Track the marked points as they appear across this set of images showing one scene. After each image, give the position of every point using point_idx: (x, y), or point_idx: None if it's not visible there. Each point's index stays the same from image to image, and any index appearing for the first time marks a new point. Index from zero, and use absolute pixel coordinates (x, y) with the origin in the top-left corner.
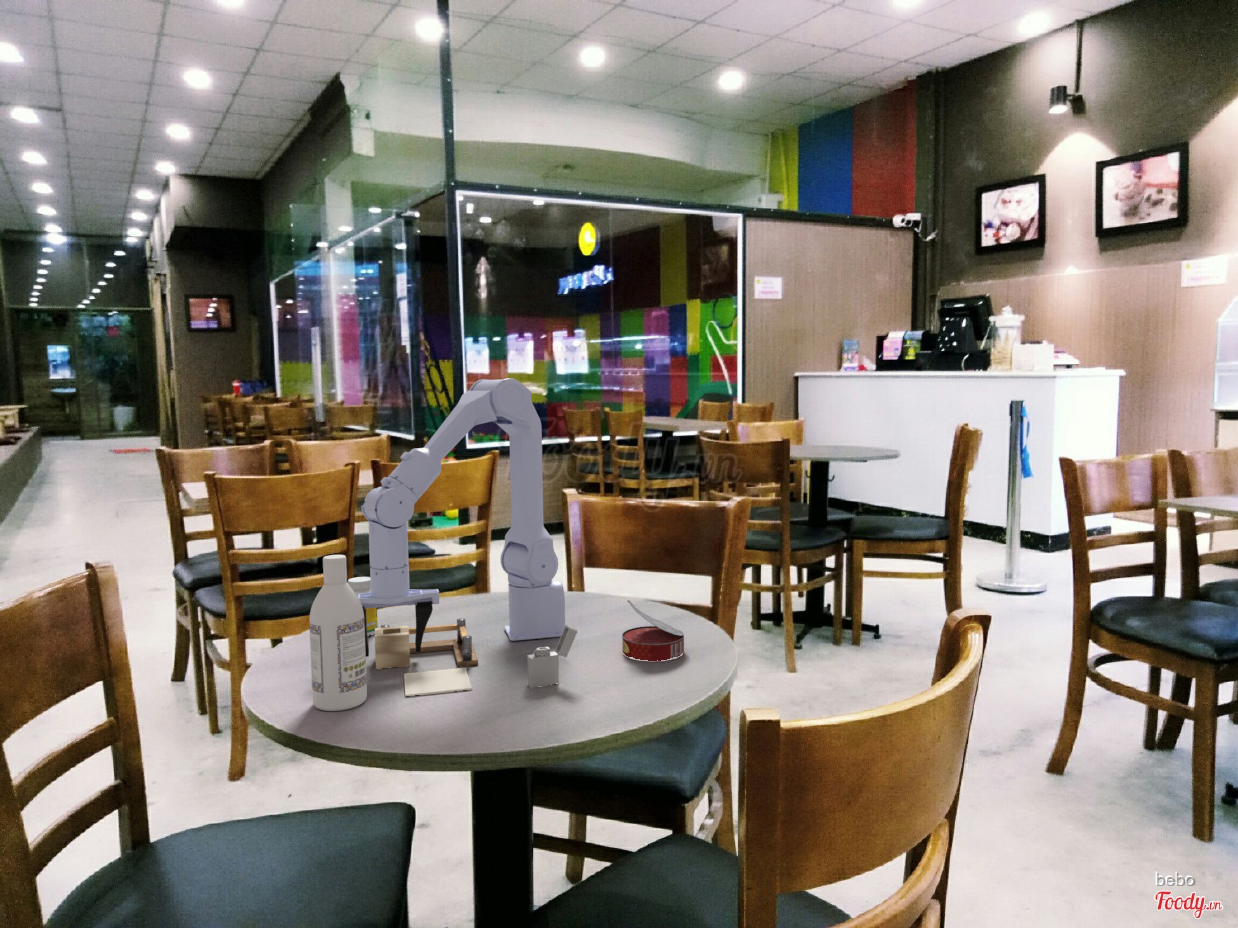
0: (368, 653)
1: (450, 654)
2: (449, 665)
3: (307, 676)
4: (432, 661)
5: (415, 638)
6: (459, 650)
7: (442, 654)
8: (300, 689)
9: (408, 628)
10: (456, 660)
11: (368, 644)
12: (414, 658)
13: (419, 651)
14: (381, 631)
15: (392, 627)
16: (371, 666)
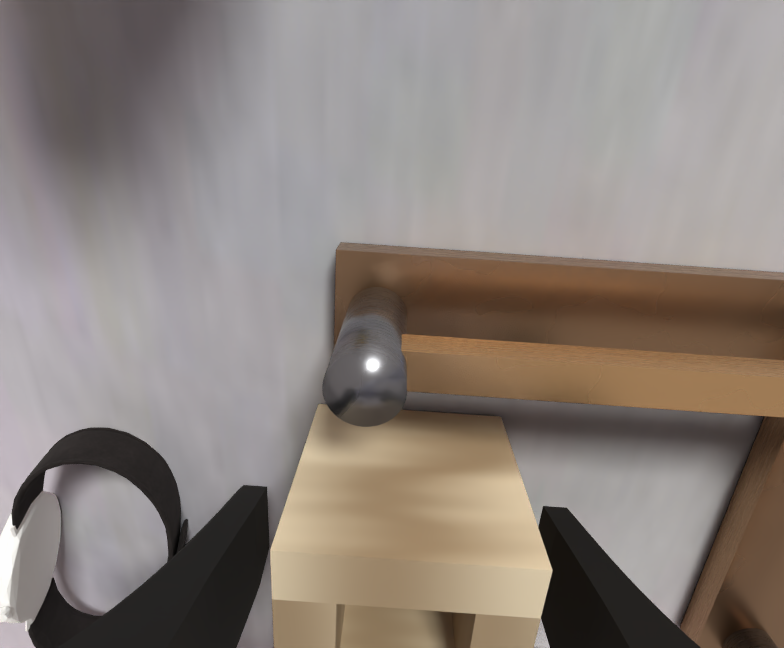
0: (263, 569)
1: (723, 457)
2: (653, 595)
3: (8, 518)
4: (597, 524)
5: (565, 549)
6: (779, 514)
7: (683, 443)
8: (29, 638)
9: (570, 370)
10: (708, 565)
11: (251, 518)
12: (522, 453)
13: None
14: (323, 637)
15: (416, 578)
16: None
